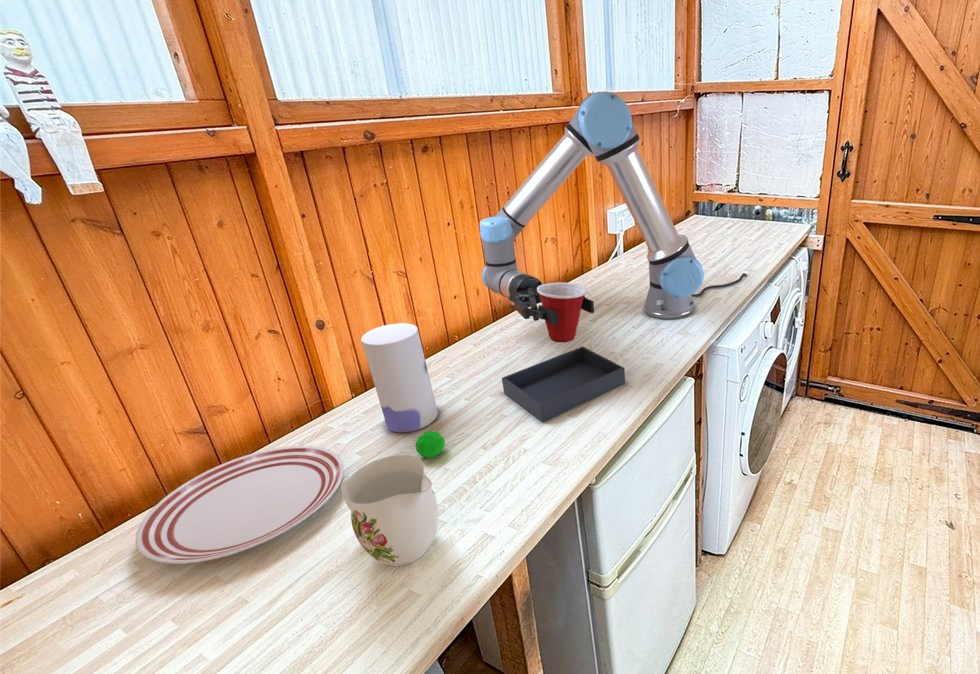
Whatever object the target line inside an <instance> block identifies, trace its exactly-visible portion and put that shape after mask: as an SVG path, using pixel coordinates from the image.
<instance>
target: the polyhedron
mask: <svg viewBox="0 0 980 674" xmlns="http://www.w3.org/2000/svg"><path fill="white" fill-rule="evenodd" d="M445 444H446V441H445V437H443V436H442V434H440V432H438V431H432V430H431V431H430V430H427V431H424V432H423V433H422V434H420V435H419V436H418V437H417V438H416V442H415V445H414V447H415V450H416V452H417V454H419V455H420V456H421V457H422V458H430V459H431V458H432V459H433V458H435V457H436V456H437V455H439V454H441V453H442V451H443V449H444V447H445Z"/></svg>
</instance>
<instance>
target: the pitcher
mask: <svg viewBox="0 0 980 674" xmlns="http://www.w3.org/2000/svg"><path fill="white" fill-rule="evenodd" d="M425 470H426V469H425V463H424V461H423V460H422V459H421V458H419V457H417V456H415V455H411V454H394V455H389V456H384V457H382V458H381V457H380V458H378V459H375V460H373V461H371V462H369V463H367V464H365V465H363V466H362V467H361V468H359V469H358V470H356V471H355V472H354V473H352V474H351V475H348V476H347V477H345V478H344V479H342V480H341V483H340V491H341V494H342V497H343V500H344V502H345V505H346V506H347V508H348V509H349V510H350V522H351V527H352V530H353V534H354V535H355V537H356V539H357V541H358V543H359V544H360V546H361V548H363V549H364V550H365V552H366V553H367V554H368V555H370V556H371V557H372V558H374V559H375V560H376V561H378V562H380V563H382V564H385V565H389V566H393V567H400V566H405V565H408V564H411V563H413V562H415V561H417V560H418V559H420V558H422V556H424V554H425V553H426V552H427V551H428V550H429V548H430V547H431V545H432V543H433V541H434V538H435V536H436V533H437V528H438V523H439V522H438V521H439V507H438V501H437V498H436V494H435V492H434V490H433V488H432V484H433V483H432V481H431V479H430V477H428V476H427V475H426V474H425V473H426V471H425Z"/></svg>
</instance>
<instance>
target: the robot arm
mask: <svg viewBox="0 0 980 674" xmlns="http://www.w3.org/2000/svg"><path fill="white" fill-rule="evenodd" d="M640 142H641V138H640V135H639V133H638V131H637V129H636V127H635V124H634V123H633V117H632V113H631V110H630V108H629V106H628V105H627V103H626V102H625V100H623V99H622V98H621V97H620V96H619V95H617V94H615V93H614V92H611V91H605V90H603V91H597V92H594V93H592V94H589V95H588V96H586V97H585V98H584V99H583V100H582V102H581V103H580V104H579V107H578V108H577V110H576V112H575V113H574V115H573V116H572V118H571V119H570V120H569V122H568V124H567V125H566V126H565V127H564V134H563V136H562V137H561V138H560V139H559V140H558V142H557V143H556V144H555V145H554V146H553V147H552V149H551V150H550V151H549V152H548V153H547V154H546V155H545V157H544V158H543V159H542V161H541V162H540V163H538V165H537V166H536V167H535V168H534V169H533V171H532V172H531V174H530V175H529V176H528V177H527V178H526V179H525V181H524V182H523V183H522V184H521V185H520V186H519V188H517V190H516V191H515V192H514V193H513V195H512V196H511V197H510V198H509V199H508V200H507V202H506V203H505V204H504V205H503V207H502V208H501V209H500V210H499V211H498V212H497V213H496V214H495V215H494V216H490V217H486V218H483V219H481V220H480V222H479V232H480V233H479V237H480V238H481V239H480V240H481V244H482V249H483V256H484V260H485V267H484V268H483V270H482V273H481V281H482V283H483V284H484V285H485V287H487V288H488V289H489V290H490V291H491V292H493V293H495V294H498V295H501V296H503V297H505V298H507V299H508V303H509V308H511V309H514V310H515V311H516V312H517V313H518V314H519V315H520V316H521V317H522V318H523V319H524V320H529V319H530V318H531V317H532V320H533V321H534V322H537V321H539V320H544V321H545V320H546V321H548V322H549V323H551V324H553V325H555V326H556V325H559V322H558V314H557V312H555V311H553V310H550V309H548V308H545V307H544V306H542V303H541V298H540V295H539V293H538V292H537V287H538V286H540V285H542V284H543V283H542V281H541V280H540V279H539V278H537V277H535V276H533V275H530V274H528V273H526V272H524V271H520V270H519V269H518V266H517V258H516V251H515V250H516V249H515V240H516V238H517V237H518V236H519V234H521V232H522V231H523V230H524V228H525V227H527V225H528V224H529V223H530V221H531V220H532V219H533V218H534V217H535V216H536V215H537V214H538V212H539V211H540V210H541V209H542V208H543V207H544V205H545V204H546V203H547V202H548V201H549V200H550V198H552V196H553V195H554V194H555V193H556V191H558V189H559V188H560V187H561V186H562V185H563V184H564V182H566V180H567V179H568V178H569V177H570V176H571V174H573V172H575V170H576V169H577V168H578V167H579V166H580V165H581V163H582V162H583V161H584V160H585V159H586V157H588V156H594V158H595V160H596V162H597V163H598V164H601V165H603V166H606V168H607V169H608V172H609V173H610V176H611V178H612V179H613V181H614V183H615V185H616V188H617V189H618V192H619V194H620V195H621V197H622V199H623V201H624V203H625V206H626V207H627V210H628V211H629V213H630V215H631V217H632V219H633V221H634V223H635V225H636V226H637V229H638V231H639V233H640V234H641V237H642V239H643V241H644V242H645V244H646V247H647V250H648V252H647V255H646V259H647V261H648V275H649V277H648V279H649V288H648V291H647V295H646V297H645V298H646V299H645V301H644V312H645V314H646V315H648V316H649V317H652V318H654V319H660V320H677V319H682V318H686V317H688V316H690V315H692V314H693V313H694V312H695V302H694V298H699V297H701V296H702V295H704V293H705V291H707V290H711V289H717V288H725V287H730V286H733V285H735V284H738V283H739V282H741V281H742V280H743V278H744V277H748V275H747V273H745V272H743V273H742V274H741V275H740V277H739V278H738V279H736V280H734V281H732V282H728V283H725V284H724V283H723V284H714V285H709V286H706V287H704V288H703V289H702V290H701V291H700V292H699V293H696V292H697V291H698V290H699V289H700V288H701V286H702V285H703V281H704V278H705V277H704V276H705V273H704V268H703V265H702V263H701V262H700V261H699V260H698V259H697V257H696V255H695V254H694V251H693V249H692V246H691V245H690V242H689V237H688V236H687V235H684V234H679V233H678V231H677V229H676V226H675V225H674V222H673V220H672V218H671V216H670V214H669V212H668V210H667V208H666V206H665V204H664V201H663V199H662V197H661V194H660V192H659V191H658V189H657V187H656V184H655V183H654V180H653V178H652V176H651V174H650V172H649V169H648V168H647V165H646V163H645V161H644V159H643V157H642V155H641V153H640V150H639V145H640ZM538 304H539V305H538ZM581 310H583V311H584V312H588V313H589V314H594V313H595V303H594V301H593V300H592V299H589V298H587V297H586V294H585V295H584V299H583V302H582V305H581Z"/></svg>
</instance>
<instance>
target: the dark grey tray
mask: <svg viewBox="0 0 980 674" xmlns="http://www.w3.org/2000/svg"><path fill="white" fill-rule="evenodd" d="M501 383H502V389H503V394H504V395H505V396H507V397H508V398H509V399H511V400H512V401H513V402H514V403H516V404H517V405H518V406H520V407H521V408H523V409H524V410H525V411H526V412H528V413H529V414H531V416H533V417H534V418H536V419H537V420H538V421H540V422H541V423H545V422H547V421H549V420H550V419H553V418H556V417H557V416H559V415H561V414H563V413H566V412H567V411H570V410H572V409H574V408H576V407H578V406H580V405H583V404H585V403H587V402H589V401H591V400H593V399H596V398H597V397H600V396H602V395H604V394H606V393H608V392H610V391H612V390H615V389H616V388H618V387H620V386H624V385H625V384H626V373H625V367H624V366H622V365H620V364H617V363H616V362H614V361H611V360H610V359H609V358H606V357H604V356H602V355H601V354H598V353H597V352H594V351H592V350H590V349H589V348H587V347H585V346H579V347H577V348H574V349H572V350H569V351H566V352H563V353H561V354H559V355H557V356H554V357H552V358H549V359H547V360H544V361H541V362H539V363H536V364H533V365H532V366H529V367H526V368H523V369H521V370H518V371H516V372H513V373H511V374H507V375H505V376H503V377H501Z"/></svg>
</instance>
